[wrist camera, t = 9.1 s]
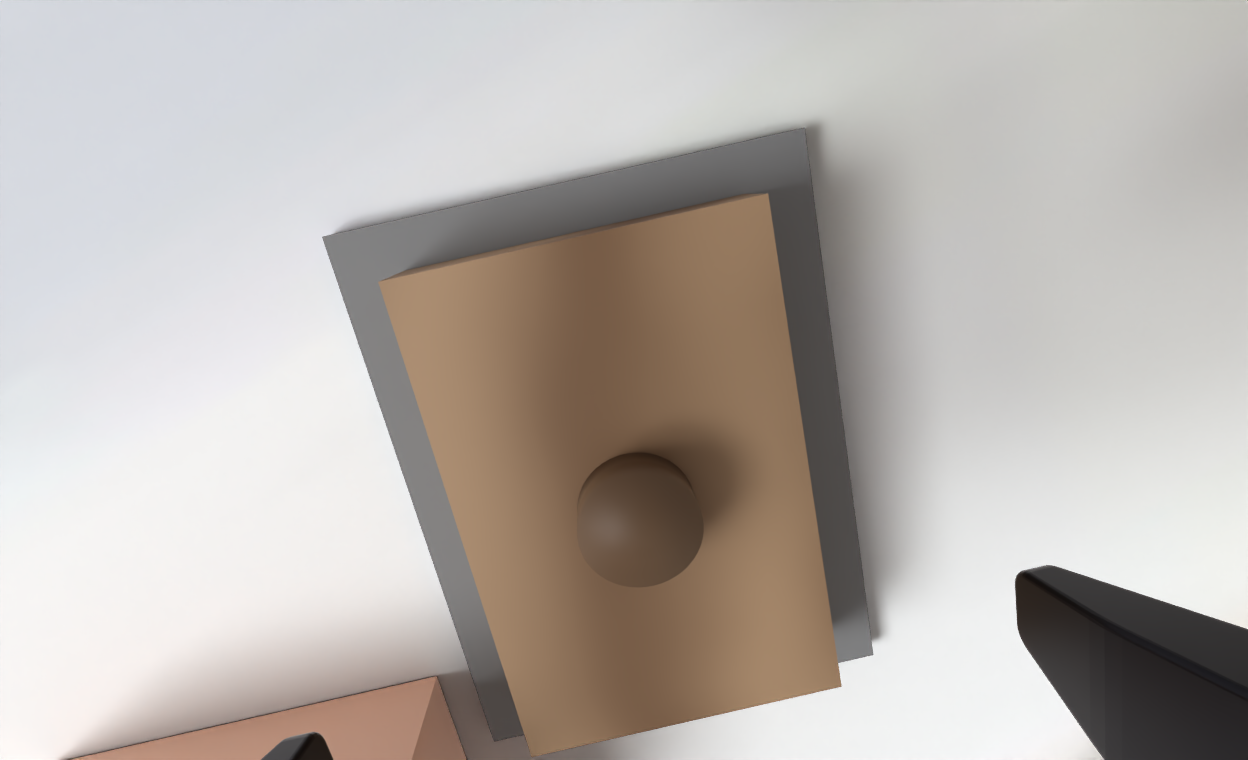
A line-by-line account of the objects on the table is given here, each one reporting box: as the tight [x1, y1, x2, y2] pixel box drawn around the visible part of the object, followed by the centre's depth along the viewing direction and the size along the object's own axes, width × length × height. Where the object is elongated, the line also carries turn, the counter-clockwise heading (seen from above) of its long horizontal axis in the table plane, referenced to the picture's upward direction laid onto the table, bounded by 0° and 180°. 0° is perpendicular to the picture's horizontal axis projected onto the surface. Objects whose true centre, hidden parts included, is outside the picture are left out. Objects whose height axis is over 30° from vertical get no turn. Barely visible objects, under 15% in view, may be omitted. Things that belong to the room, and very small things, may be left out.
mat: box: [322, 128, 873, 741], centre depth 15 cm, size 13×10×1 cm
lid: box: [378, 194, 841, 757], centre depth 14 cm, size 7×11×3 cm, turn 12°
